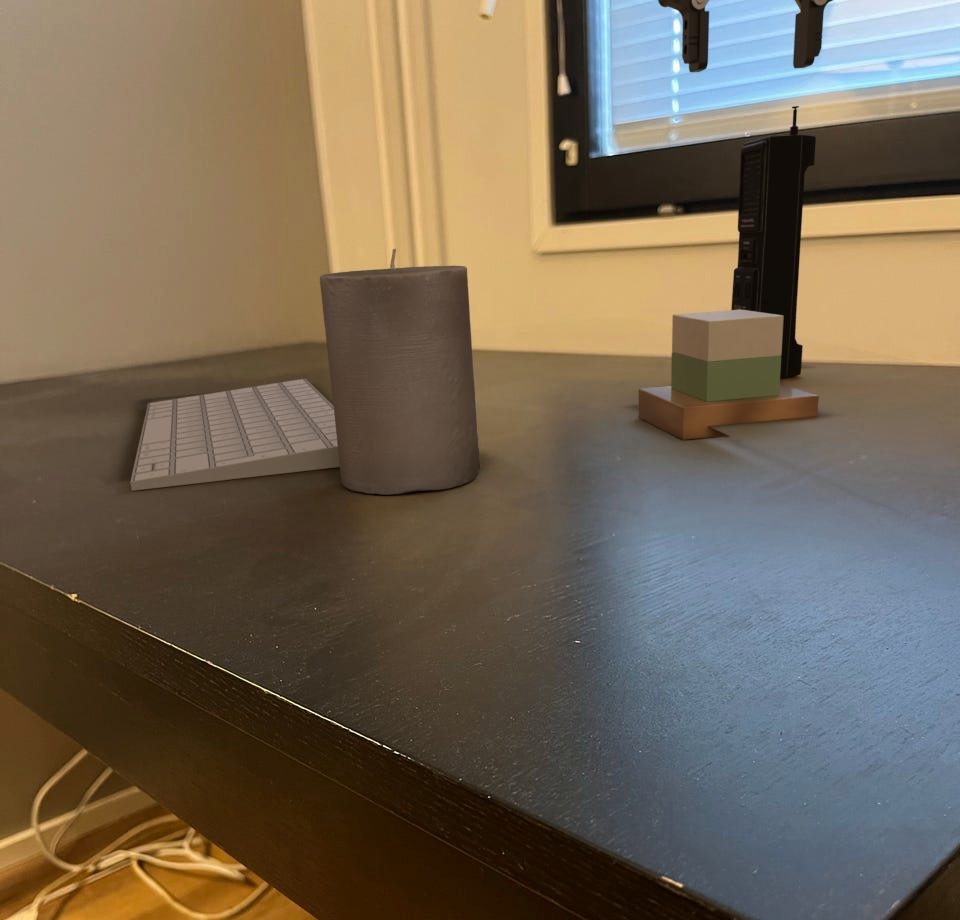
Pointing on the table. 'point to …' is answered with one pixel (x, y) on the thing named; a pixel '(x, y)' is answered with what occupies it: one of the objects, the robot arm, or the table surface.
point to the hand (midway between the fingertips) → (751, 68)
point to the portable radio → (772, 232)
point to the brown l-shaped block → (719, 410)
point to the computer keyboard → (236, 435)
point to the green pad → (726, 377)
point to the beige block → (727, 335)
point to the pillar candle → (402, 377)
